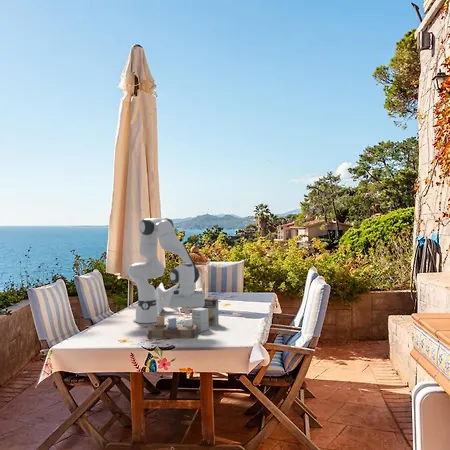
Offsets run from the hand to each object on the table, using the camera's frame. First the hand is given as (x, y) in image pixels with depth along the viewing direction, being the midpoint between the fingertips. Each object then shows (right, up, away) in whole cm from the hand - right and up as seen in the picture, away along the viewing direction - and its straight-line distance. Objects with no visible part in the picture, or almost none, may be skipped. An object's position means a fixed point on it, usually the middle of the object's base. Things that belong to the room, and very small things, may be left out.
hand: (187, 314), depth 288 cm
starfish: (-26, -12, +76) cm, 81 cm away
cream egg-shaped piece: (0, -9, 0) cm, 9 cm away
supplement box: (+7, -11, +9) cm, 16 cm away
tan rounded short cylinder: (-16, -7, 0) cm, 17 cm away
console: (-8, -11, -4) cm, 14 cm away
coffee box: (+13, -11, +24) cm, 29 cm away
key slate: (-8, -7, -7) cm, 13 cm away
